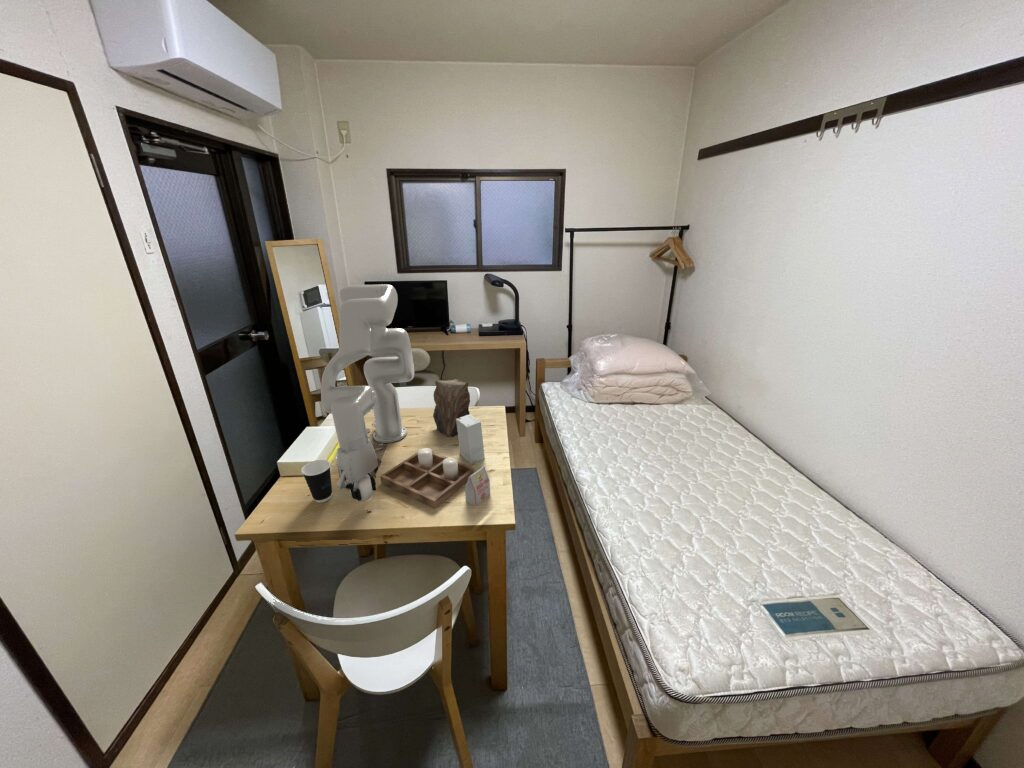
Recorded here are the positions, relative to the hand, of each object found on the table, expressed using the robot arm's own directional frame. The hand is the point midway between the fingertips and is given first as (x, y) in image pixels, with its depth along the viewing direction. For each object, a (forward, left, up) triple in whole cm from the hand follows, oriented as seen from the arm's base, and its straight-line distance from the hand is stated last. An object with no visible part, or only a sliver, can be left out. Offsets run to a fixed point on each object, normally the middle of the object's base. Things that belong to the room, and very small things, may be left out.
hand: (364, 493), depth 119 cm
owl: (-8, +47, -4) cm, 48 cm away
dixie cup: (-14, -5, -4) cm, 16 cm away
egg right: (+13, +23, -3) cm, 26 cm away
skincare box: (+11, +36, -4) cm, 38 cm away
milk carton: (+27, +19, -4) cm, 33 cm away
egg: (0, 0, -1) cm, 1 cm away
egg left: (+2, +23, -3) cm, 23 cm away
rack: (+8, +18, -4) cm, 20 cm away
